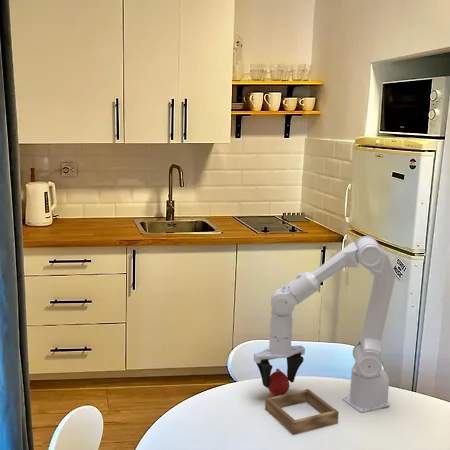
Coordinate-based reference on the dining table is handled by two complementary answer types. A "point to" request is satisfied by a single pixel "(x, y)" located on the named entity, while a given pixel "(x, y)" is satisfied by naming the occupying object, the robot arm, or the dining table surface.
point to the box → (304, 424)
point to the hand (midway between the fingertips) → (278, 383)
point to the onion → (278, 383)
